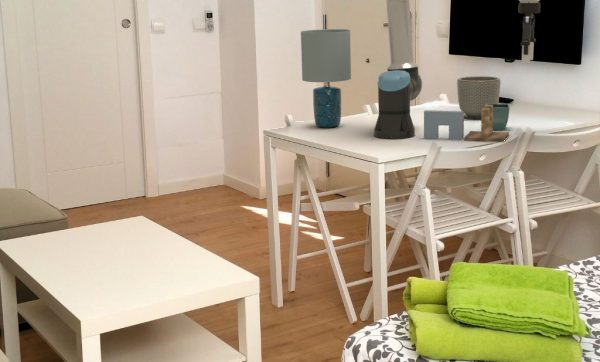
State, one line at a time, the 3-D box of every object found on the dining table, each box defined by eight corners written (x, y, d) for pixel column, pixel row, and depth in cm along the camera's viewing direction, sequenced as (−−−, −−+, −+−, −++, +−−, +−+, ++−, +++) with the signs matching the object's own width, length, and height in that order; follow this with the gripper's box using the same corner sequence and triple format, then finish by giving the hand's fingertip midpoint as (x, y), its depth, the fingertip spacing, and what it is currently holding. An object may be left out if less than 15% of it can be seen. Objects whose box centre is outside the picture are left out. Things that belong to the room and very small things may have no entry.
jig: (464, 140, 318) (464, 109, 315) (470, 134, 330) (470, 104, 327) (504, 142, 313) (505, 110, 311) (508, 135, 325) (509, 104, 323)
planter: (498, 121, 355) (499, 81, 352) (454, 120, 360) (454, 81, 356) (501, 114, 371) (501, 75, 368) (459, 113, 376) (459, 75, 372)
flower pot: (509, 131, 334) (509, 107, 332) (485, 130, 336) (485, 107, 334) (508, 126, 342) (509, 103, 340) (485, 126, 344) (485, 103, 342)
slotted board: (423, 138, 325) (423, 111, 322) (425, 137, 327) (425, 110, 325) (462, 139, 320) (462, 112, 318) (463, 138, 322) (463, 111, 320)
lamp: (317, 121, 369) (314, 29, 361) (359, 123, 360) (358, 29, 352) (295, 129, 353) (291, 32, 344) (339, 131, 344) (336, 32, 335)
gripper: (537, 3, 304) (535, 65, 309) (543, 0, 327) (540, 58, 332) (515, 3, 307) (513, 65, 311) (522, 0, 329) (520, 58, 334)
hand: (527, 62), depth 322 cm, fingers open, 13 cm apart
